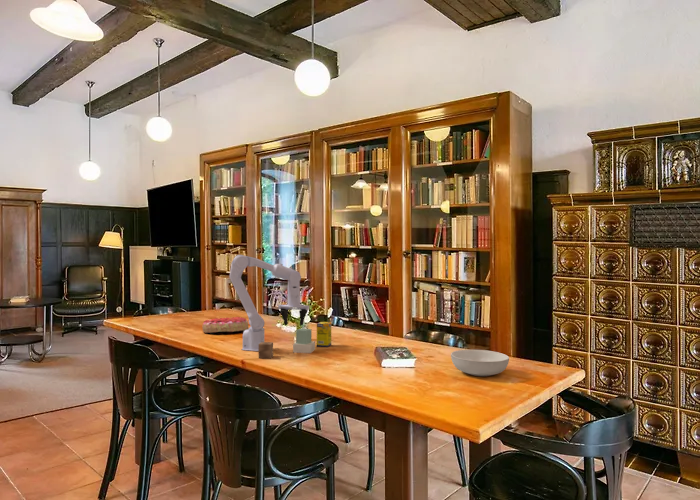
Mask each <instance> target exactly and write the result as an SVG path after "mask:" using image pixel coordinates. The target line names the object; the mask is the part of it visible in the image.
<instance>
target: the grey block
mask: <svg viewBox="0 0 700 500" xmlns="http://www.w3.org/2000/svg"><path fill="white" fill-rule="evenodd" d="M315 350H316V340H315V341H312V340H311V343H309V344H296V342H294V343H293V344H292V353H295V354H312V353H313V352H314V351H315Z"/></svg>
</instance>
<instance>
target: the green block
mask: <svg viewBox="0 0 700 500" xmlns="http://www.w3.org/2000/svg"><path fill="white" fill-rule="evenodd" d="M295 334H296V335H295V340H296V341H295V343H296V344H309V343H311V341H312V329H311V328H299V329H296V331H295Z"/></svg>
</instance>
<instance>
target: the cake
mask: <svg viewBox="0 0 700 500" xmlns="http://www.w3.org/2000/svg"><path fill="white" fill-rule="evenodd" d="M248 329H249V320H247V318H245V317H241V316H235V317H220V318H218V317H217V318H216V317H215V318H212V319H211V318H210V319H205V320H204V321H203V323H202V332H204V334H208V333H210V334H211V335H214V334H217V333H233V332H236V333H237V332H239V333H241V332H244V331H245V330H248Z"/></svg>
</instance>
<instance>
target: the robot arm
mask: <svg viewBox="0 0 700 500" xmlns="http://www.w3.org/2000/svg"><path fill="white" fill-rule="evenodd" d="M247 267H249V268H250V267H258V268H261V269H264V270H266V271H269V272H271V275H272V276H273V277H277V278H279V279H282V280H284V281H285V280H287V304H278V307H277V308H278V310H279V313H280V314H281V317H282V320H283V324H284V326H288V318H289V317H288V315H289V310H299V311H298V314H299V325H300V326H301V327H302V326H304V322H305V318H306V315H307V313H308V311H309V310H310V305H306V304H301V286H300V284H301V279H302V276H301V273H300V272H299V271H298V270H295V269H293V267H286V266H285V265H283V263H275V264H271V263H268V262H266V261H264V260H261V259H259V258H256V257H252V256H247V255H244V254H237V255H235V256H234V257H233V259H232V262H231V264H230V271H229V277H228V278H229V279H230V281H231V283H232V285H233V288H234V290H235V292H236V294H237V296H238V298H239V300H240V302H241V304H242V306H243V308H244V310H245V313H246V315H247V317H248V325H250V326H249V327H248V329H247V330H245V331H243V332H242V349H241V351H250V352H251V351H252V352H259V344H260V343H261V342H265V328H264V327H265V319H264V318H263V317H262V316H261V315H260V314H259V312H258V310H257V308H256V307H255V304H254V302H253V300H252V298H251V296H250V294H249V292H248V290H247V288H246V285H245V284H244V282H243V280H242V275H243V273H244V271H245V269H246V268H247Z"/></svg>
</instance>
